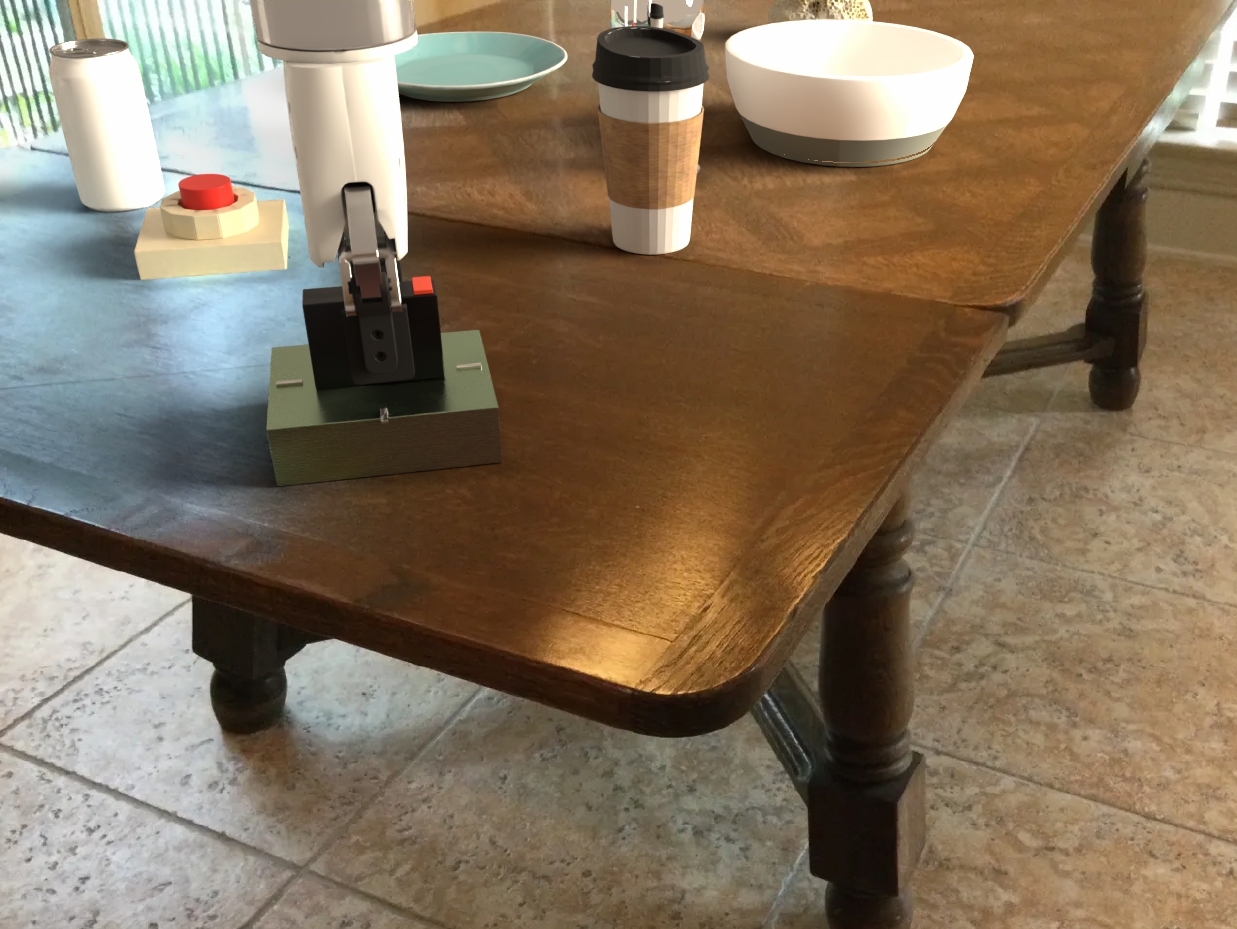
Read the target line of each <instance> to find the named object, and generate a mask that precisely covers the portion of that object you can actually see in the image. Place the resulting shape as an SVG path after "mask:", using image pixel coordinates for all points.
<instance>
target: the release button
mask: <svg viewBox="0 0 1237 929" xmlns="http://www.w3.org/2000/svg"><path fill="white" fill-rule="evenodd" d="M177 185H178V191H180V196H181V201H182V206H183V208H184V209H189V210H197V211H199V210H214V209H218V208H222V207H226V206H230V205H231V204H233V203H235V200H234V195H233V190H232V186H233V184H232V180H231V178H230V177H229V176H227V175H225V174H221V173H220V174H219V173H200V174H195V175H190V176H187V177H185V178H182V179H181V180H180V181H179V182H178V183H177Z"/></svg>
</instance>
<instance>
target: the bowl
mask: <svg viewBox="0 0 1237 929" xmlns="http://www.w3.org/2000/svg"><path fill="white" fill-rule="evenodd" d="M724 57H725V58H724V59H725V72H726V73H725V74H726V82H727V84H728V88H729V91H730V93H731V97H732V101H733V103H734V106H735V109H736V111H737V112H738V114H739V115H740V117H741V119H742V122H743V124H744V125H745V127H746V129H747V132H748V134H749V135H750V138H751V140H752V141H753V143H754V144H755V146H758V147H759V148H760V149H762V150H764V151H765V152H767V153H770V154H772V155H775V156H778V157H781V158H784V159H786V160H792V161H796V162H800V163H804V164H812V165H818V166H828V167H829V166H830V167H840V168H841V167H842V168H843V167H844V168H845V167H847V168H850V167H851V168H859V167H860V168H863V167H865V168H867V167H880V166H888V165H889V166H890V165H895V164H899V163H905V162H909V161H912V160H915V159H918V158H920V157H922V156H923V155H925V154H928V152H929V151H930V150H931V149H932V147H933V145H934V144H935V143H936V141H937V140H938V139H939V137H940V136H941V134H942V133H943V132H944V130H945V129H946V127H947V126H948V125H949V123H950V122H951V121H952V119H953V117H954V116H955V114H956V112H957V110H958V108H959V106H960V104H961V102H962V99H963V98H964V95H965V94H966V91H967V87H968V83H969V79H970V73H971V69H972V65H973V60H974V54H973V51H972V50H971V48H970V47H969V46H968V45H967V44H965V43H963V42H962V41H960V40H958V39H956V38H953V37H951V36H948V35H946V34H942V33H939V32H936V31H933V30H928V29H924V28H920V27H915V26H909V25H904V24H898V23H889V22H881V21H873V20H872V21H858V20H802V21H788V22H780V23H772V24H763V25H758V26H753V27H750V28H746V29H743V30H740V31H738V32H736V33H735V34H733V35H731V36H730V37H729V38H728V39H727V40H726V41H725V43H724ZM934 142H935V143H934ZM933 143H934V144H933ZM932 144H933V145H932ZM931 145H932V146H931ZM930 146H931V147H930ZM928 147H930V148H929V149H928V150H926V151H925V152H923V153H921V154H918V155H915V156H912V157H909V158H905V159H900V160H895V161H887V162H878V163H833V162H864V161H880V160H886V159H897V158H901V157H906V156H909V155H912V154H916V153H918V152H921V151H923V150H925V149H927V148H928ZM784 154H785V155H784ZM808 159H809V160H808ZM814 160H818V161H814ZM822 161H833V162H822Z"/></svg>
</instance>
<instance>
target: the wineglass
mask: <svg viewBox="0 0 1237 929" xmlns="http://www.w3.org/2000/svg"><path fill="white" fill-rule="evenodd" d="M705 2H706V1H705V0H610V4H609V5H610V6H609V18H610V29H611V28H616V27H625V26H652V27H658V28H663V29H668V30H672V31H675V32H679V33H682V34H685V35H688V36H690V37H692V38H695V39H697V40H699V41H700V42H701V40H702V37H703V34H704V31H705V23H706V3H705ZM701 172H702V168H701V166H700V164H699V163H698V166H697V175H696V178H697V177H698V176H699V175H700V174H701Z"/></svg>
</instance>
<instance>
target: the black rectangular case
mask: <svg viewBox="0 0 1237 929" xmlns="http://www.w3.org/2000/svg"><path fill="white" fill-rule="evenodd" d="M399 290H400V298H401V304H406V305H407V313H408V321H409V329H410V337H411V345H412V353H413V361H414V369H415V375H414V377H413V378H412V379H409V380H401V381H411V380H422V379H433V378H443V377H445V370H444V360H443V350H442V340H441V333H442V330H441V320H440V312H439V302H438V300H439V299H438V293H437V289H436V283H435V280H434V278H431V275H427V276H426V275H425V276H412V277H411V280H402V282H399ZM389 298H390V294H389ZM301 300H302V303H301V308H302V312H303V319H304V326H305V332H306V337H307V344H309V350H310V357H311V363H312V369H313V375H314V381H315V387H316V389H325V388H336V387H346V386H357V385H358V384H355V383H354V382H353V381H352V377H351V371H350V365H349V358H348V352H347V345H346V339H345V332H344V326H343V320H342V312H341V310H343V309H345V304H344V296H343V288H342V285H341V286H340V285H339V286H327V287H315V288H303V289H302V299H301ZM390 305H391V304H390ZM392 382H400V381H392ZM382 383H390V382H382ZM372 384H379V383H372ZM362 385H368V384H362Z"/></svg>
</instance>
